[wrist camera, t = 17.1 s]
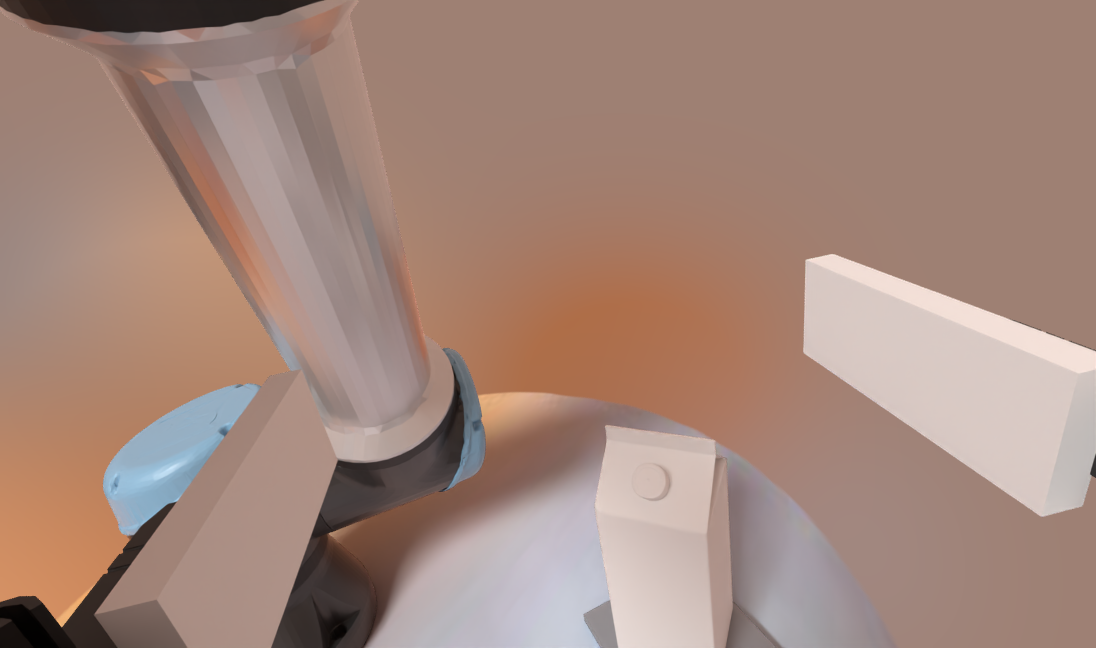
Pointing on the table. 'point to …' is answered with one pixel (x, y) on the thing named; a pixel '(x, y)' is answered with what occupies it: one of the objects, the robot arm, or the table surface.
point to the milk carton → (665, 539)
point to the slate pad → (742, 642)
